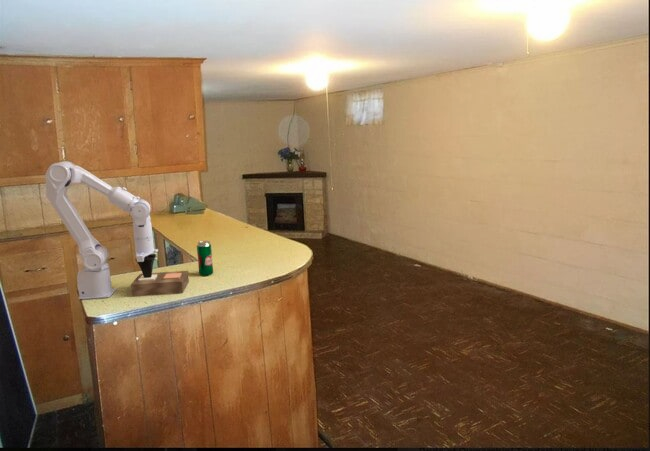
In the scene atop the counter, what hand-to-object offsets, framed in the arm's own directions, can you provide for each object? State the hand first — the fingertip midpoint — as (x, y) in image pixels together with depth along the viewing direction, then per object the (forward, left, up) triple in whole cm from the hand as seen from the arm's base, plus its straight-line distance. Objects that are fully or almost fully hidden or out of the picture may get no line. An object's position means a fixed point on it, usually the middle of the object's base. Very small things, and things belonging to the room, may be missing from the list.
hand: (147, 277), depth 166 cm
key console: (+4, 0, -4) cm, 6 cm away
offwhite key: (0, 0, -2) cm, 2 cm away
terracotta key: (+8, 0, -2) cm, 8 cm away
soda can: (+17, +14, -4) cm, 22 cm away
